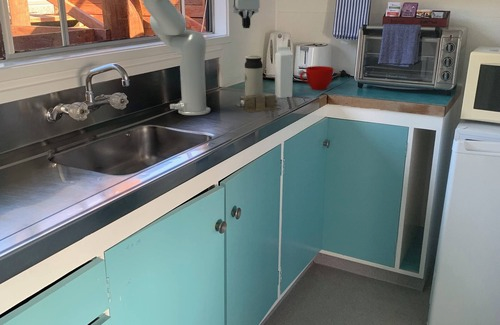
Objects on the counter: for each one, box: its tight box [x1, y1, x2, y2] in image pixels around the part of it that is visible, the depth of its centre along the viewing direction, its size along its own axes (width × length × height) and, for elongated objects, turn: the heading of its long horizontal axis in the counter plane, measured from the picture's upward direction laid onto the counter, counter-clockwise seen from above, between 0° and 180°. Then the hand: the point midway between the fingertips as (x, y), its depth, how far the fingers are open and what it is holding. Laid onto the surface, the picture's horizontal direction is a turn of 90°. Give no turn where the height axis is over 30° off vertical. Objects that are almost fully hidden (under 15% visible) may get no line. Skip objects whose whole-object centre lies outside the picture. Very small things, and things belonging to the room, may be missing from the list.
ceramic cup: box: [299, 65, 334, 91], centre depth 242 cm, size 13×17×10 cm
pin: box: [239, 96, 279, 106], centre depth 206 cm, size 16×3×3 cm, turn 115°
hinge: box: [235, 92, 281, 114], centre depth 206 cm, size 14×13×5 cm
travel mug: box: [244, 54, 264, 96], centre depth 225 cm, size 8×8×18 cm
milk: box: [274, 46, 294, 99], centre depth 224 cm, size 6×6×22 cm
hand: (246, 27), depth 206 cm, fingers closed
